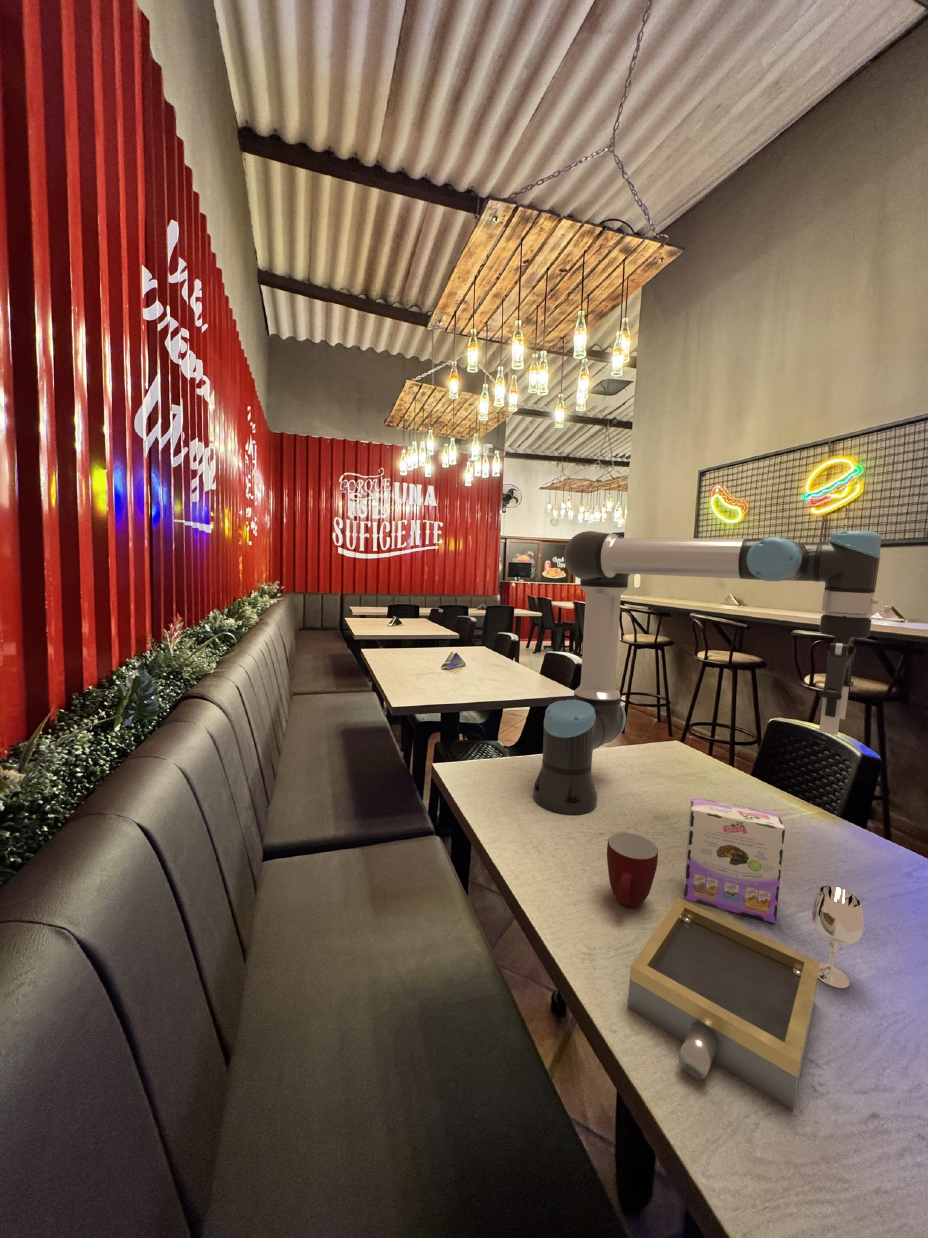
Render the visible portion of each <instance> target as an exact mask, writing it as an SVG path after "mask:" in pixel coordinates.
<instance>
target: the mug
mask: <svg viewBox="0 0 928 1238" xmlns="http://www.w3.org/2000/svg"><path fill="white" fill-rule="evenodd" d="M606 847H607V848H606V861H607V862H606V863H607V870H608V879H609V880H608V881H609V884H610V885H609V886H610V888H611V890H612V892H613V895H614V898H615V899H616V901H617V902H618V903H619V904H620V905H622V906H623V907H625V908H628V909H637V908H640V906H642V904H643V903H644V901H646V899H647V898H648V896H649V894H650V892H651V889H652V886H653V882H654V879H655V875H656V872H657V868H658V862H659V861H658V859H659V849H658V847H657V845H656V844H655V843H654V842H653V841H651V840H650V839H648V838H646V837H644V836H642V835H639V834H636V833H631V832H618V833H613V834H612V835H610V836H609V837H608V840H607V846H606Z"/></svg>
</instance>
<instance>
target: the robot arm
mask: <svg viewBox="0 0 928 1238" xmlns="http://www.w3.org/2000/svg"><path fill="white" fill-rule="evenodd" d="M881 545H882V537H881V535H880V534H879V532H876V531H872V530H846V531H845V530H840V531H833V532H832V533H831V534H830V538H829V539H828V541H823V542H822V541H821V542H805V541H804V542H801V541H799V542H797V541H792V540H791V539H788V538H786V537H783V536H768V537H764V538H763V537H761V538H758V537H757V538H754V537H752V538H745V537H744V538H742V537H740V538H739V537H738V538H723V537H721V538H713V537H711V538H710V537H709V538H707V537H706V538H705V537H704V538H702V537H701V538H698V537H697V538H689V537H688V538H686V537H685V538H684V537H683V538H680V537H677V538H674V537H673V538H668V537H667V538H664V537H663V538H643V537H642V538H640V537H639V538H634V537H633V538H629V537H628V538H627V537H623V536H622V535H621V536H620V535H619V534H616V533H606V532H599V531H594V530H587V531H583V532H579V533H577V534H575V535H574V536H572V537H571V539H570V540H569V541H568V542H567V543H566V546H565V548H564V553H563V561H564V565H565V566H566V568H567V570H568V572H569V573H570V574H571V575H572V576H574V577H575V578H578V579H580V580H579V581H580V582H579V583H580V584H579V587H580V589H581V590H582V591H583V592H584V593H585V598H584V599H585V600H584V601H585V603H584V604H585V605H584V619H583V635H582V636H583V637H582V653H581V654H582V656H581V669H580V670H581V672H580V684H579V686H578V687H577V688H576V689H575V690H573V691H574V692H573V699H566V700H564V699H563V700H562V699H561V700H558V701H554V702H553V703H551V704H549V705H548V706H547V708H546V709H545V714H544V719H543V741H542V742H543V744H542V760H541V761H542V763H541V768H540V771H539V772H538V775H537V778H536V780H535V782H534V785H533V796H532V797H533V800H534V801H535V802H536V804H538V805H539V806H540V807H542V808H543V809H546V810H547V811H551V812H555V813H558V814H563V815H584V814H587V813H590V812H592V811H594V809H596V807H597V804H598V803H597V802H598V793H597V790H596V786H595V781H594V777H593V774H592V766H593V765H592V763H593V751H595V750H597V749H598V748H600V747H602V746H604V745H605V744H608V743H611V742H613V741H614V740H615V739H616V738H617V737H618V736H619V735H621V733H623V731H624V729H625V726H626V721H627V716H626V711H625V709H624V707H623V705H622V704H621V694H620V692H619V691H618V690H617V689H616V676H617V674H616V673H617V659H618V648H619V647H618V643H619V632H620V631H619V629H620V611H621V597H622V594H624V593H625V592H626V591H627V590H628V588H629V577H630V575H645V576H646V575H650V576H670V577H692V578H693V577H695V578H696V577H697V578H715V579H716V578H717V579H718V578H719V579H720V578H721V579H738V580H754V581H755V580H756V581H757V580H758V581H765V582H781V581H791V582H794V581H796V582H818V583H819V582H824V585H825V586H824V590H823V595H822V602H821V603H822V604H821V612H824V614H822V615H821V616H820V623H819V633H820V634H823V635H826V636H833V637H834V639H833V642H831V643H830V644H828V647H827V655H828V656H827V660H826V665H827V666H826V673H825V678H824V679H825V680H824V685H823V690H822V691H818V697H821V698H822V704H821V711H820V721H819V728H818V729H819V730H818V731H819V732H820V733H824V734H830V735H834V736H838V735H839V728H840V727H839V726H840V720H846V714H847V706H848V700H849V692H850V691H849V689H850V688H852V687H854V683H855V682H854V681H852V680H851V679H852V678H851V671H852V665H853V663H854V658H855V655H856V651H857V646H855V645H854V643H855V639H867V638H868V637H870V636H871V635H870V634H871V626H872V619H871V618H870V617H868V616H871V615H872V614H873V608H874V606H873V605H876V604H877V605H878V604H879V600H878V598H875V597H874V596H875V593H876V586H877V579H878V574H879V573H878V572H879V566H880V559H881Z"/></svg>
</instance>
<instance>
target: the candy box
mask: <svg viewBox="0 0 928 1238" xmlns="http://www.w3.org/2000/svg"><path fill="white" fill-rule="evenodd" d="M689 806H690V808H689V817H688V828H687V829H688V830H687V831H688V832H687V841H686V843H687V844H686V848H685V849H686V853H685V860H684V861H685V864H684V874H683V891H682V892H683V893H682V895H683V896H682V897H683V899H685V900H688V901H691V902H694V903H699V904H702V905H705V906H710V907H713V908H718V909H721V910H725V911H727V912H731V913H735V914H739V915H742V916H747V917H751V918H755V919H759V920H762V921H765V922H769V923H773V924H776V923H777V915H778V904H779V892H780V883H781V882H780V881H781V875H782V874H781V873H782V862H783V855H784V854H783V852H784V843H785V834H786V828H785V826H784V824H783V821H782V818H781V817H780V814H779V813H777V812H772V811H765V810H760V809H757V808H750V807H745V806H741V805H740V806H739V805H736V804H730V803H724V802H719V801H714V800H709V799H704V798H700V797H695V796H691V798H690V805H689Z"/></svg>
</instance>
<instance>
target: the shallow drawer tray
mask: <svg viewBox="0 0 928 1238" xmlns="http://www.w3.org/2000/svg"><path fill="white" fill-rule="evenodd" d="M820 962H821V961H819V960H817V959H814V958H812V957H810V956H807V955H806V954H803V953H801V952H798V951H797V950H794V949H793V948H789V947H787V946H785V945H783V944H781V943H778V942H777V941H774V940H772V939H770V938H767V937H765V936H763V935H762V934H759V933H756V932H754V931H752V930H749V929H748V928H745V927H742V926H741V925H739V924H736V923H734V922H732V921H729V920H727V919H725V918H723V917H721V916H719V915H716V914H714V913H713V912H710V911H708V910H705V909H703V908H701V907H699V906H697V905H694V904H692V903H690V902H688V901H686V900H683V899H681V898H679V897H678V898H676V901H675V902H674V903H673V905H672V906H671V907H670V909H669V911H668V912H667V913H666V914H665V916H664V917H663V919H662V920H661V922H660V923H659V924H658V926H657V928H656V929H655V930H654V932H653V934H652V935H651V936H650V938H649V939H648V940H647V942H646V943H645V944H644V946H643V948H642V949H641V951H640V952H639V953H638V955H637V956H636V958H635V960H634V961H633V962H632V963H631V965H630V974H629V983H628V984H629V985H628V998H627V1008H628V1009H629V1010H632V1011H633V1012H635V1013H636V1014H638V1015H640V1016H641V1017H643V1018H644V1019H645V1020H647V1021H649V1022H651V1023H652V1024H654V1025H655V1026H656V1027H658V1028H660V1029H661V1030H663V1031H664V1032H666V1033H667V1034H670V1035H671V1036H672V1037H674V1038H676V1040H679V1041H681V1042H682V1045H681V1047H680V1049H679V1052H678V1061H679V1063H680V1065H681V1068H683V1069H684V1071H685V1072H686V1073H687V1074H688V1075H690V1076H691V1077H692V1078H694V1079H697V1080H703V1079H705V1078H706V1077H707V1075H708V1073H709V1070H710V1068H711V1065H712V1063H713V1062H714V1063H715V1064H717V1065H719V1066H720V1067H722V1068H723V1069H725V1070H726V1071H728V1072H730V1073H731V1074H733V1075H734V1076H736V1077H737V1078H739V1079H741V1080H742V1081H744V1082H745V1083H747V1084H749V1085H751V1086H752V1087H753V1088H755V1089H757V1090H758V1091H760V1092H761V1093H762V1094H764V1095H766V1096H768V1097H769V1098H770V1099H772V1100H774V1101H775V1102H777V1103H779V1104H780V1105H782V1106H783V1107H785V1108H787V1109H788V1110H790V1111H791V1112H793V1111H794V1108H795V1103H796V1099H797V1092H798V1087H799V1082H800V1077H801V1071H802V1067H803V1063H804V1058H805V1053H806V1048H807V1043H808V1038H809V1033H810V1028H811V1023H812V1017H813V1014H814V1009H815V1004H816V995H817V987H818V981H819V979H818V973H819V965H820Z"/></svg>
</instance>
